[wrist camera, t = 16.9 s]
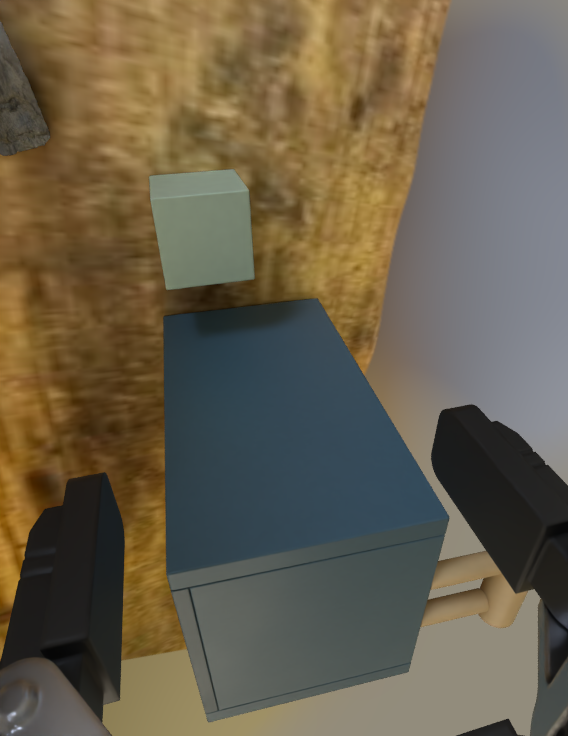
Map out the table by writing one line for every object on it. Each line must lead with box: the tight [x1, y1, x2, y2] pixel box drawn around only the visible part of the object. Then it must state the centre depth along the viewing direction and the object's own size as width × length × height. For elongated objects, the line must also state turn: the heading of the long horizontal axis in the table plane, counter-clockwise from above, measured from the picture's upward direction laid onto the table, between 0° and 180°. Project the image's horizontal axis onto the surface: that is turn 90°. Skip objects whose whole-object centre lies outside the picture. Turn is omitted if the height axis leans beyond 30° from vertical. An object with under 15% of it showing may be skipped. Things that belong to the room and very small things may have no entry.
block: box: [149, 169, 255, 290], centre depth 25 cm, size 5×5×5 cm
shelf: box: [163, 298, 528, 722], centre depth 27 cm, size 18×12×15 cm
